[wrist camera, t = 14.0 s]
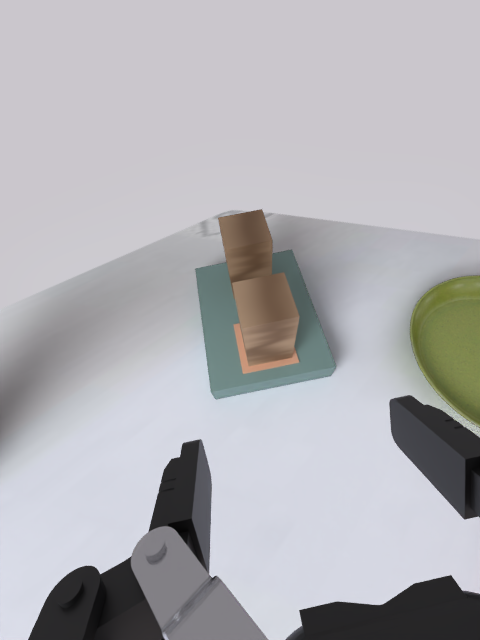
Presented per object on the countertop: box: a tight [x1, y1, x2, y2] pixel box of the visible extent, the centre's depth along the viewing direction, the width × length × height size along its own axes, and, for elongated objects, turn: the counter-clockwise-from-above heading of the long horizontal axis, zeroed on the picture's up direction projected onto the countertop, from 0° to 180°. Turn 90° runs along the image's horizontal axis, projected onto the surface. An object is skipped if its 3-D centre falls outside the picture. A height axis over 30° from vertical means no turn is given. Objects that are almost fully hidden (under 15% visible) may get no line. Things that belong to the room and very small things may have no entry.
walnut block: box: [232, 272, 300, 367], centre depth 29 cm, size 5×5×9 cm
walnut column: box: [218, 210, 272, 299], centre depth 34 cm, size 5×5×9 cm
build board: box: [195, 250, 336, 399], centre depth 37 cm, size 14×18×3 cm
